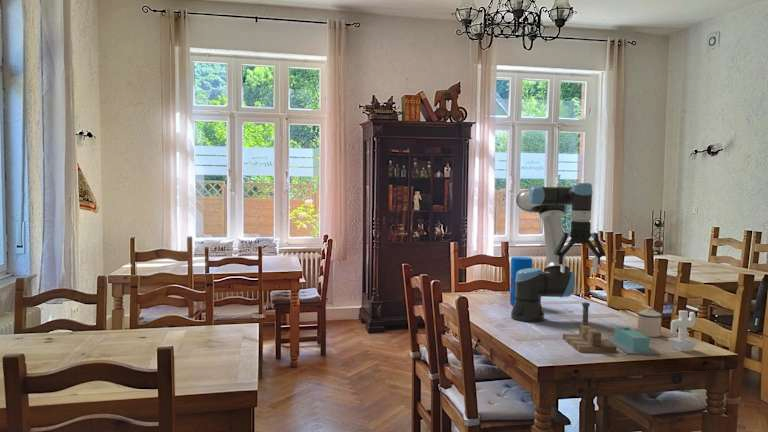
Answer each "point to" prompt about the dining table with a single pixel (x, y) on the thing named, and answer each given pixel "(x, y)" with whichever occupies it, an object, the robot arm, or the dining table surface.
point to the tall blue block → (516, 265)
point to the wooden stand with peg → (588, 337)
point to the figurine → (682, 332)
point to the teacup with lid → (649, 322)
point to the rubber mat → (628, 351)
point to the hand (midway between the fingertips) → (578, 272)
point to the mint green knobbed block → (631, 339)
